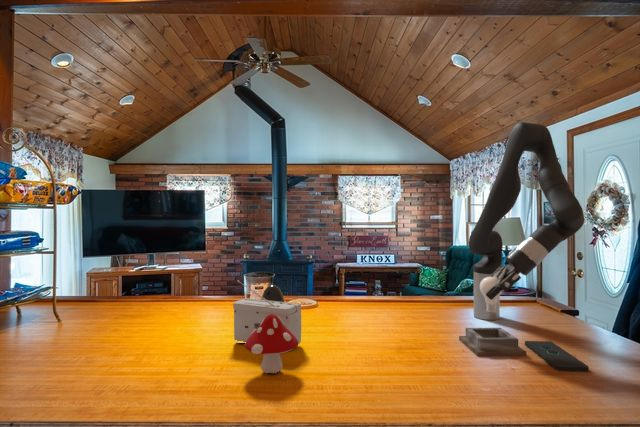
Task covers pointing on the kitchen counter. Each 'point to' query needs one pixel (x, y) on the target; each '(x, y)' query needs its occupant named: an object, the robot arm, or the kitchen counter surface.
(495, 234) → the robot arm
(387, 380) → the kitchen counter surface
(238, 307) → the stereo radio cassette player
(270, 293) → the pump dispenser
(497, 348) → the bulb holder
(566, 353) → the smart home device
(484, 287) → the lightbulb
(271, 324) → the decorative mushroom
